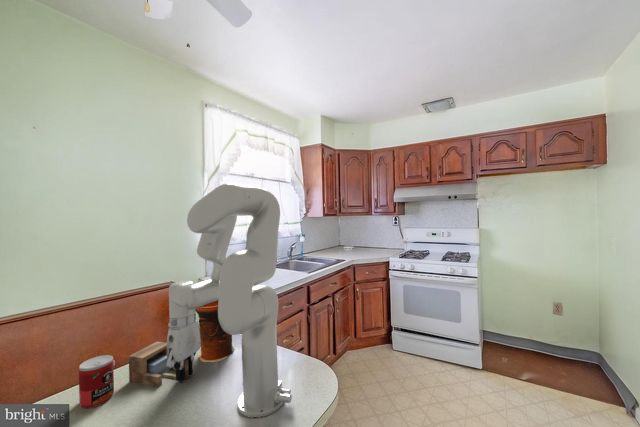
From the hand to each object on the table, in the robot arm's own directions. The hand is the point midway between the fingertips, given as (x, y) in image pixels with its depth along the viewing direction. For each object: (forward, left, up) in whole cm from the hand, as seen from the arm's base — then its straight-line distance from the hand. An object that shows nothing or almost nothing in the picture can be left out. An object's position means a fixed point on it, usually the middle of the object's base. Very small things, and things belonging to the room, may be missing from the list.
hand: (184, 377), depth 85 cm
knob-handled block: (+7, 0, -1) cm, 7 cm away
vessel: (+1, -17, -1) cm, 17 cm away
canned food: (+18, +14, -1) cm, 23 cm away
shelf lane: (+11, 0, -1) cm, 11 cm away
